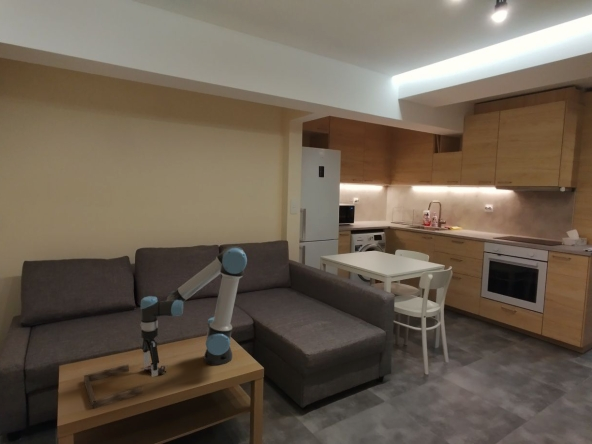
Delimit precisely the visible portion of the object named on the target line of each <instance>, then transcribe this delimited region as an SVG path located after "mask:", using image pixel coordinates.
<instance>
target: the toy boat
mask: <svg viewBox="0 0 592 444" xmlns="http://www.w3.org/2000/svg"><path fill="white" fill-rule="evenodd" d="M166 367H168V364H167V365H166V364H165V365H160V367H159V366H158V375H163V374H164V375H165V374H166V373H167V370H165V369H166ZM140 369H141V370H146V371H149V372H150V373H152V372H151V364H149V365H146V366H145V367H141V368H140Z"/></svg>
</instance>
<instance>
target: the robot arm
mask: <svg viewBox="0 0 592 444" xmlns="http://www.w3.org/2000/svg"><path fill="white" fill-rule="evenodd" d="M247 265H248V258H247V255H246V252H245V249H244V248H242V246H240V245H238V244H231V245H229V246H227V247H226V248H224V250H222V251H221V252H220V253H219V254H218V255H216V257H215V259H214V260H213V261H211V262H210V263H209V264H208V265H207V266H205V267H204V268H203V269H202V270H200V271H198V273H196V274H195V275H193V276H192V277H191V278H190V279H188V280H187V281H186V282H185V283H183V284H182V285H181V286H179V287H178V288H177V289H175V290H174V291H171V292H170V293H169V294H168V295H167V298H166V299H165V300H158V298H157V296H152V295H149V296H144V297H143V298H141V300H140V308H139V309H140V323H139V325H140V328H141V332H140V334H141V335H140V337H141V338H142V345H141V350H142V354H143V355H142V357H143V366H145V367H146V366H149V365H151V372H150V373H151V378H154V377H157V376H159V374H158V367H159V365H158V364H159V363H160V358H159V352H158V346H157V344H158V343H157V341H156V340H155V338H157V337H158V336H159V328H158V327H159V322H158V321H159V320H158V317H159V318H160V317H162V318H163V317H177V316H182V315H183V313H184V303H185V302H186V301H187V300H188V299H190V298H191V297H192V296H193V295H194V294H195V293H197V292H198V291H200V290H201V289H202V288H204V287H205V286H206V285H208V284H209V283H210V282H211V281H213V280H214V279H216V278H217V277H218V276H219V275H221V276H222V277H221V281H220V286H219V292H218V294H217V300H216V305H215V306H216V307H215V311H214V316H213V317H212V316H211V317H210V318H208V320H207V324H206V325H207V333H206V341H205V346H206V348H205V349H206V350H205V351H204V356H203V357H204V362H205V363H206V364H208V365H212V366H220V365H225V364H228V363H229V362H231V361H232V359H233V350H232V348H231V336H232V331H233V325H232V324H231V321H232V317H233V312H234V311H233V310H234V306H235V301H236V296H237V292H238V287H239V282H240V279H241V278H243V277H244V273H245V269H246V267H247ZM150 359H151V361H150ZM150 362H151V363H150Z"/></svg>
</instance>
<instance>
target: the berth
mask: <svg viewBox="0 0 592 444" xmlns="http://www.w3.org/2000/svg"><path fill="white" fill-rule="evenodd" d="M126 372H127V373H128V372H130V365H129V363H128V364H124V365H119V366H116V367H113V368H108V369H104V370H101V371H97V372H93V373H92V372H91V373H89V374H85V375H83V381H84V385H85V386H84V387H85V389H86V393H87V396H88V398H89V402H90V405H91V409H92V410H95V409H98V408H101V407H104V406H106V405H110V404H113V403H117V402H119V401H123V400H126V399H129V398H132V397H136V396H138V395H142V394H143V388H142V386H139V387H135V388H132V389H129V390H126V391H122V392H119V393H116V394H112V395H109V396H105V397H102V398H99V399H96V397H95V393H94V389H93V387H92V384H91V382H93V381H96V380H97V381H99V380H101V379H105V378H109V377H111V376H116V375H119V374H123V373H126Z"/></svg>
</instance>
